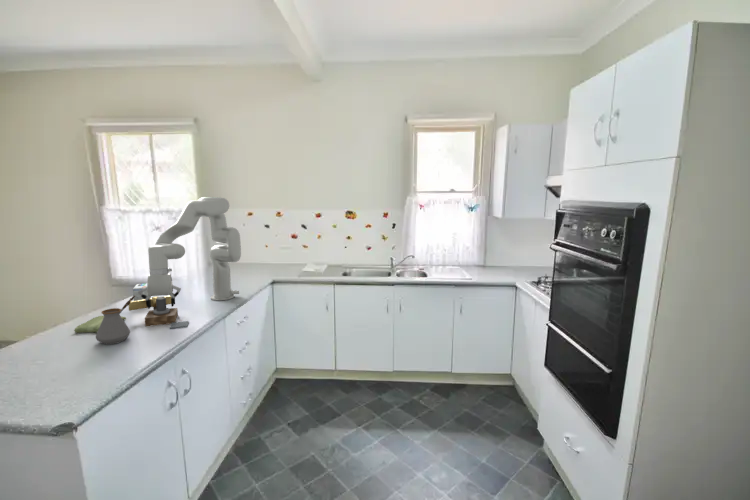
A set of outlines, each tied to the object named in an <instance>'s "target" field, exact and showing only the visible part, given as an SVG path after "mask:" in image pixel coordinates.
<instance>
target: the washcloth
mask: <svg viewBox="0 0 750 500" xmlns="http://www.w3.org/2000/svg"><path fill="white" fill-rule="evenodd" d="M120 316H121V315H120ZM121 317H122V319H123V320H124V321H125V320H127V318H126V317H125V316H121ZM103 318H104V315H98V316H96V317H93V318H91V319H88V321H85V322H84V323H81V324H79V325H77V326H76V327H75V328H74V329H73V331H74V333H77V334H78V333H79V334H80V333H84V334H87V333H94V334H95V333H96V334H97V332H98V330H99V327H100V325H101V322H102V320H103Z"/></svg>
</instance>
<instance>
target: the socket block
mask: <svg viewBox="0 0 750 500" xmlns="http://www.w3.org/2000/svg"><path fill="white" fill-rule="evenodd" d="M152 308H153V309H150V310H149V309H148V311H147V313H146V315H145V317H144V323H145V325H144V326H145V327H154V326H163V325H171V323H172V322H177V319H178V317H179V315H178V312H179V311H178V307H173V308H172V307H170V312H169V313H167V314H162V315H155V314H153V311H154V310H155V309H157V307H152Z"/></svg>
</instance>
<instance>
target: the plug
mask: <svg viewBox="0 0 750 500" xmlns="http://www.w3.org/2000/svg"><path fill="white" fill-rule="evenodd" d="M156 297H157V299H156V307H157V309H155V310H154V311H153V314H155V315H162V314H167V313H169V312H170V308H171V307H170V308H169V307H167V305H166V298H165V297H164V296H156Z"/></svg>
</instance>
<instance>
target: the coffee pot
mask: <svg viewBox="0 0 750 500" xmlns="http://www.w3.org/2000/svg"><path fill="white" fill-rule="evenodd" d="M134 297H137V296H133V295H132V296H131V297H130V298H129V300H127V301H126V303H125V304H124V305H123V307H122V308H119V307H118V308H117V307H116V308H115V307H114V308H109V309H104V310H101V314H102V316H104V318H103V320H102V322H101V325H100V327H99V330H98V332H96V334H95V339H96V340H97V341H98V342H99V343H102V344H103V345H115V344H118V343H122V342H124V341H125V340H126V339H127V338H128V337H129V336H130V334H131V329H130V328H129V326H128V325H127V323H126V322H125V319H124V320H123V319H122V317H123V316H122V317H121V315H120V314H121V313H122V312H123V311H124V310H125V309H126V308H127V307H129V306H128V305H129V304H130V302H131V301H134V300H133V299H134ZM137 299H138V297H137Z"/></svg>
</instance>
